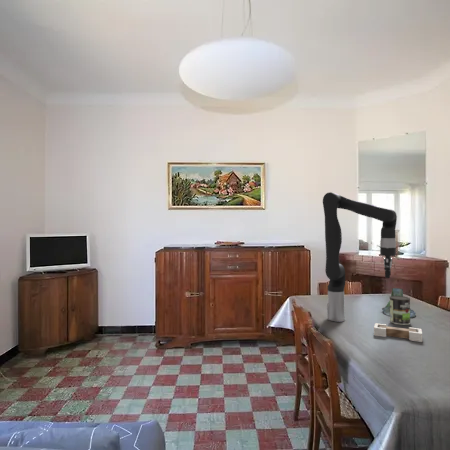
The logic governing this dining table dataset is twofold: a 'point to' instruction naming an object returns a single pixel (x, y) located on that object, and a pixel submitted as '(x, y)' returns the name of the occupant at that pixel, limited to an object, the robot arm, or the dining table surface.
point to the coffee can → (400, 310)
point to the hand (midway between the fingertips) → (387, 276)
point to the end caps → (412, 335)
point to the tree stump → (387, 308)
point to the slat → (397, 332)
